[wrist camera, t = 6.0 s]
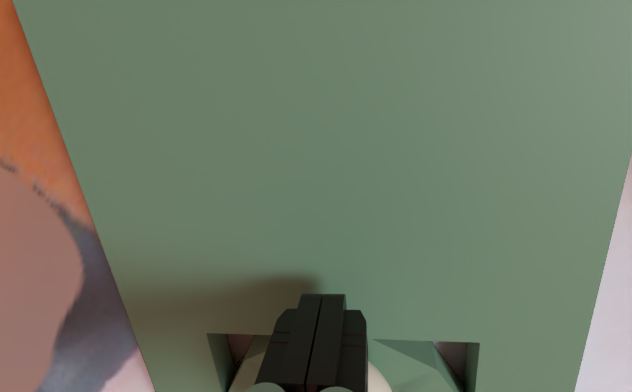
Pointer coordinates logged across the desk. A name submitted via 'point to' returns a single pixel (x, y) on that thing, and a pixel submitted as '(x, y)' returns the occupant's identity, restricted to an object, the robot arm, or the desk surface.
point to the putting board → (349, 174)
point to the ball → (376, 380)
